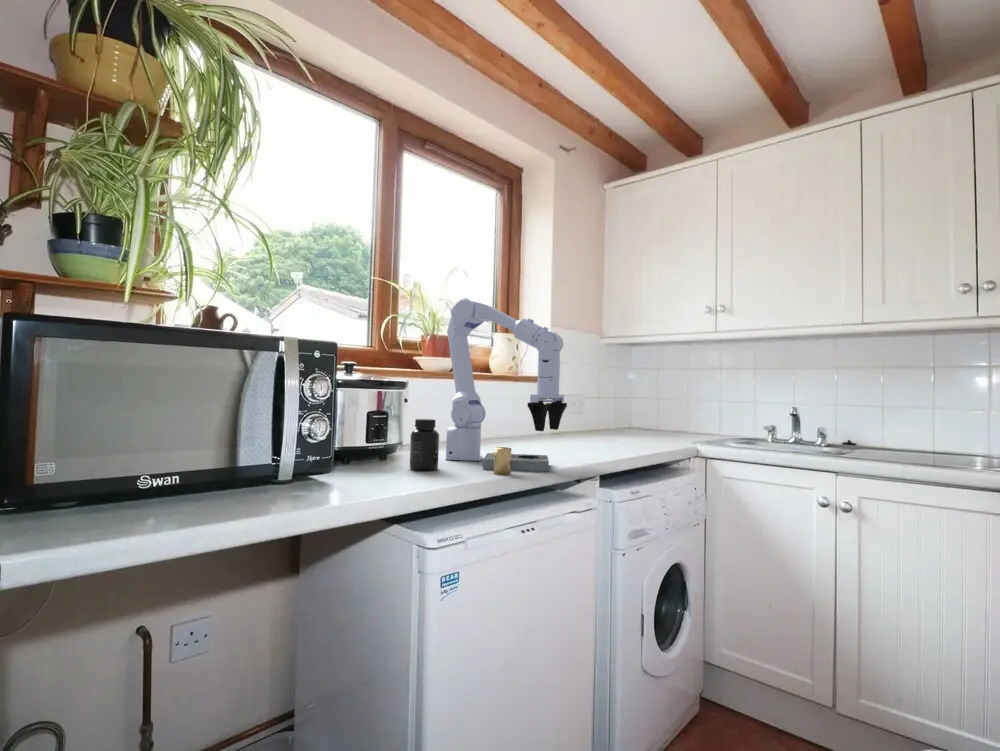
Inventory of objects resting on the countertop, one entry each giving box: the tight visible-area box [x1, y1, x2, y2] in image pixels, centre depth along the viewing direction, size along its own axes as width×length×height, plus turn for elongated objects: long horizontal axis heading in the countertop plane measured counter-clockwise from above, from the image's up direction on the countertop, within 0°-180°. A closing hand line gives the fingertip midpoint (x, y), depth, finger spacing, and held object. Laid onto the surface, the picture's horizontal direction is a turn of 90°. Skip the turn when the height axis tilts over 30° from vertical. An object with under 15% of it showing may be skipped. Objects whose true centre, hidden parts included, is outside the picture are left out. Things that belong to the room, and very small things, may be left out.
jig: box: [482, 452, 550, 473], centre depth 134 cm, size 16×12×2 cm
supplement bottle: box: [409, 418, 440, 472], centre depth 126 cm, size 7×7×12 cm
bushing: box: [493, 446, 512, 476], centre depth 123 cm, size 4×4×6 cm
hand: (546, 430), depth 136 cm, fingers open, 7 cm apart
